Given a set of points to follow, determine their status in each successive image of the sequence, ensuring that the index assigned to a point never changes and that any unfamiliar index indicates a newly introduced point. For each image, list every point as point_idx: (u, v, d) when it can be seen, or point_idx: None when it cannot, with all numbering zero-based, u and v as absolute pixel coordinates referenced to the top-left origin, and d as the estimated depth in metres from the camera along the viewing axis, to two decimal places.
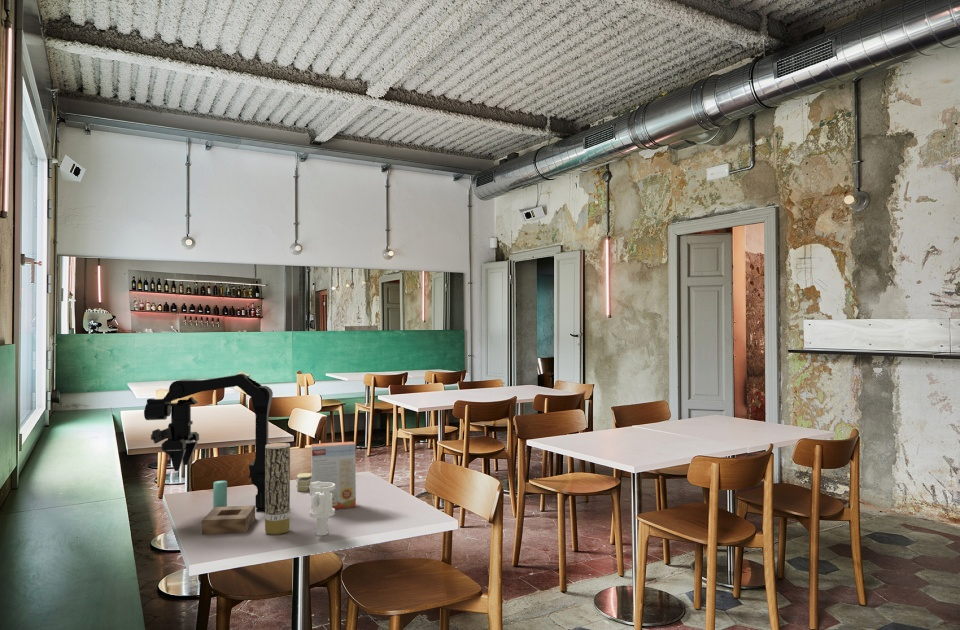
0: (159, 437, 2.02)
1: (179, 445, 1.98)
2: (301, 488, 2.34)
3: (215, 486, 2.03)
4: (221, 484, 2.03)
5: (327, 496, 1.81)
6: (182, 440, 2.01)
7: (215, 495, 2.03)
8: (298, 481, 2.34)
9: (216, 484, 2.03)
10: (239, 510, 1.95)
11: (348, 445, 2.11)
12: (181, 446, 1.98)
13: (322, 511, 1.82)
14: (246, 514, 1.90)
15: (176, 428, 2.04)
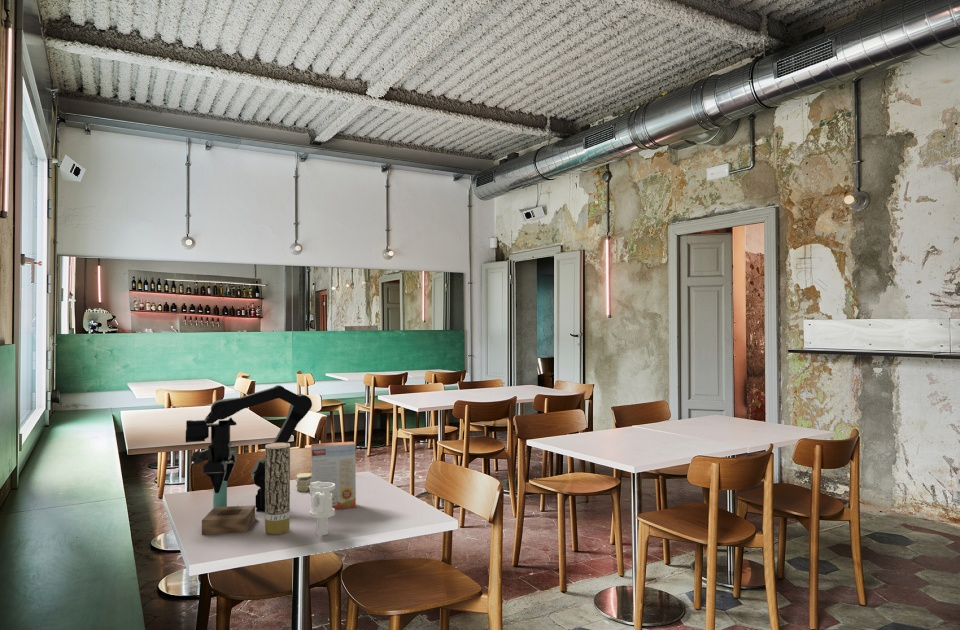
0: (199, 459, 2.00)
1: (220, 467, 1.96)
2: (301, 488, 2.34)
3: None
4: None
5: (327, 496, 1.81)
6: (223, 462, 1.99)
7: (215, 495, 2.03)
8: (298, 481, 2.34)
9: None
10: (239, 510, 1.95)
11: (348, 445, 2.11)
12: (222, 468, 1.97)
13: (322, 511, 1.82)
14: (246, 514, 1.90)
15: (216, 449, 2.02)
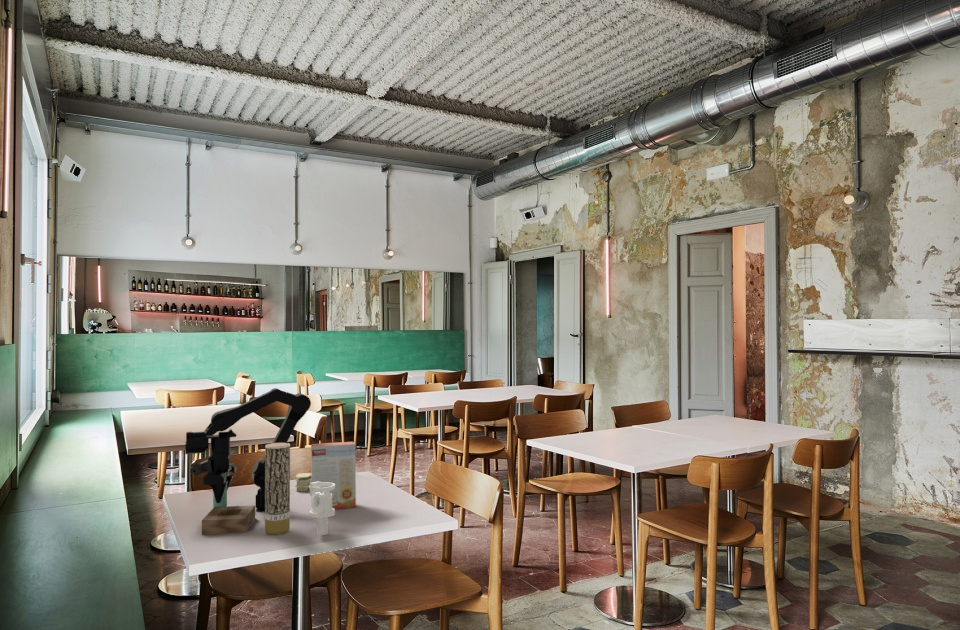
0: (199, 470, 2.00)
1: (220, 480, 1.96)
2: (300, 488, 2.34)
3: None
4: None
5: (327, 496, 1.81)
6: (223, 474, 1.99)
7: None
8: (297, 481, 2.34)
9: None
10: (239, 510, 1.95)
11: (348, 445, 2.11)
12: (222, 480, 1.96)
13: (322, 511, 1.82)
14: (246, 514, 1.90)
15: (216, 461, 2.02)
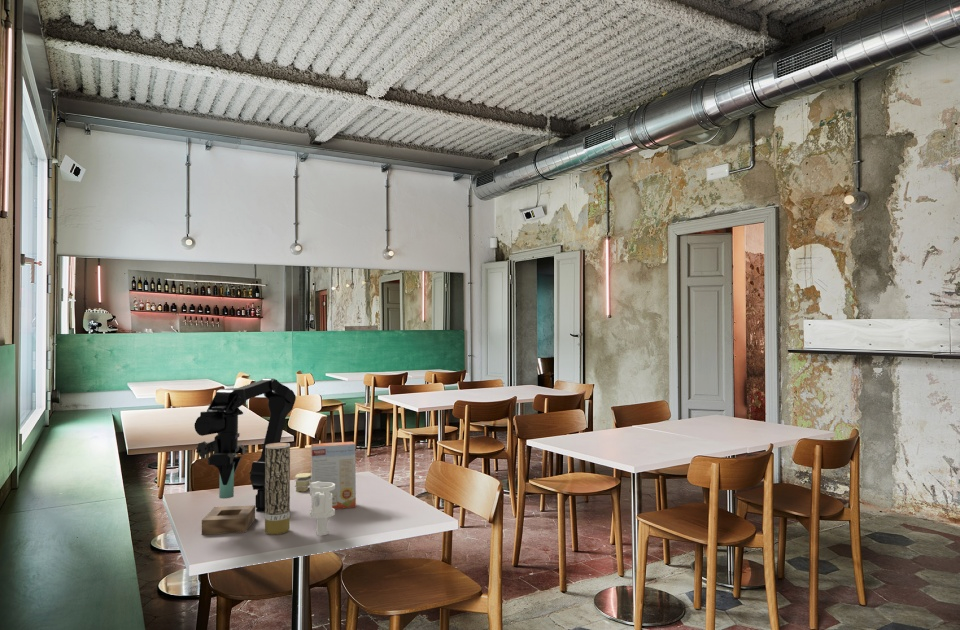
0: (205, 450, 1.89)
1: (226, 460, 1.85)
2: (300, 488, 2.34)
3: None
4: None
5: (327, 496, 1.81)
6: (229, 454, 1.88)
7: None
8: (296, 481, 2.34)
9: None
10: (239, 510, 1.95)
11: (348, 445, 2.11)
12: (228, 461, 1.85)
13: (322, 511, 1.82)
14: (246, 514, 1.90)
15: (223, 440, 1.91)
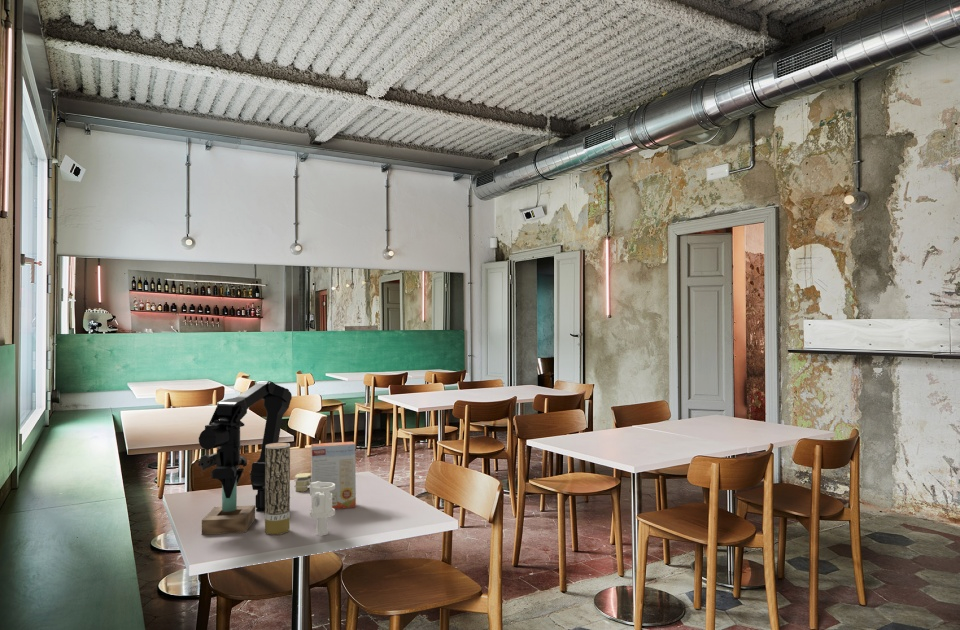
0: (207, 463, 1.87)
1: (230, 473, 1.83)
2: (299, 488, 2.34)
3: None
4: None
5: (327, 496, 1.81)
6: (233, 467, 1.86)
7: None
8: (296, 481, 2.34)
9: None
10: (239, 510, 1.95)
11: (348, 445, 2.11)
12: (232, 474, 1.84)
13: (322, 511, 1.82)
14: (246, 514, 1.90)
15: (225, 453, 1.89)
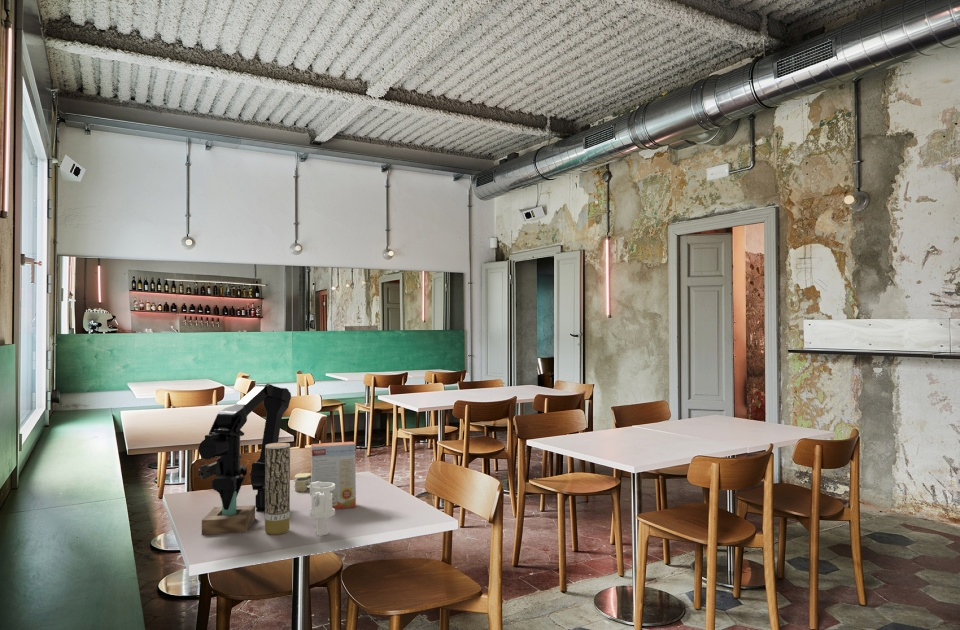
0: (207, 473, 1.87)
1: (230, 483, 1.83)
2: (299, 488, 2.33)
3: None
4: None
5: (327, 496, 1.81)
6: (233, 477, 1.86)
7: None
8: (296, 481, 2.33)
9: None
10: (239, 510, 1.95)
11: (348, 445, 2.11)
12: (232, 484, 1.84)
13: (322, 511, 1.82)
14: (246, 514, 1.90)
15: (225, 463, 1.89)
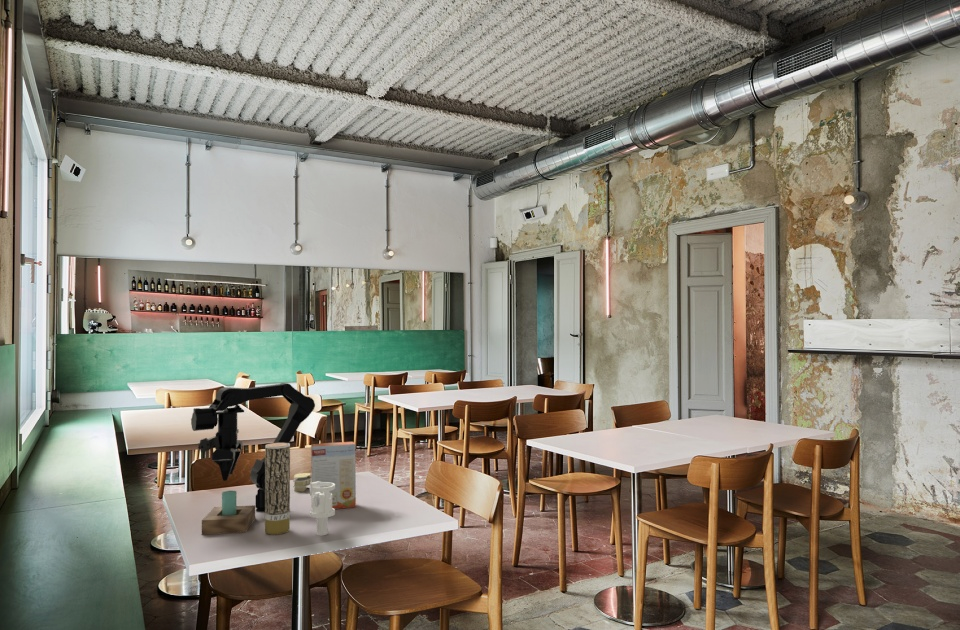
0: (207, 446, 1.98)
1: (229, 455, 1.95)
2: (298, 488, 2.33)
3: (224, 496, 1.90)
4: (230, 494, 1.90)
5: (327, 496, 1.81)
6: (232, 449, 1.97)
7: (224, 506, 1.90)
8: (295, 481, 2.33)
9: (225, 494, 1.90)
10: (239, 510, 1.95)
11: (348, 445, 2.11)
12: (232, 455, 1.95)
13: (322, 511, 1.82)
14: (246, 514, 1.90)
15: (224, 437, 2.01)
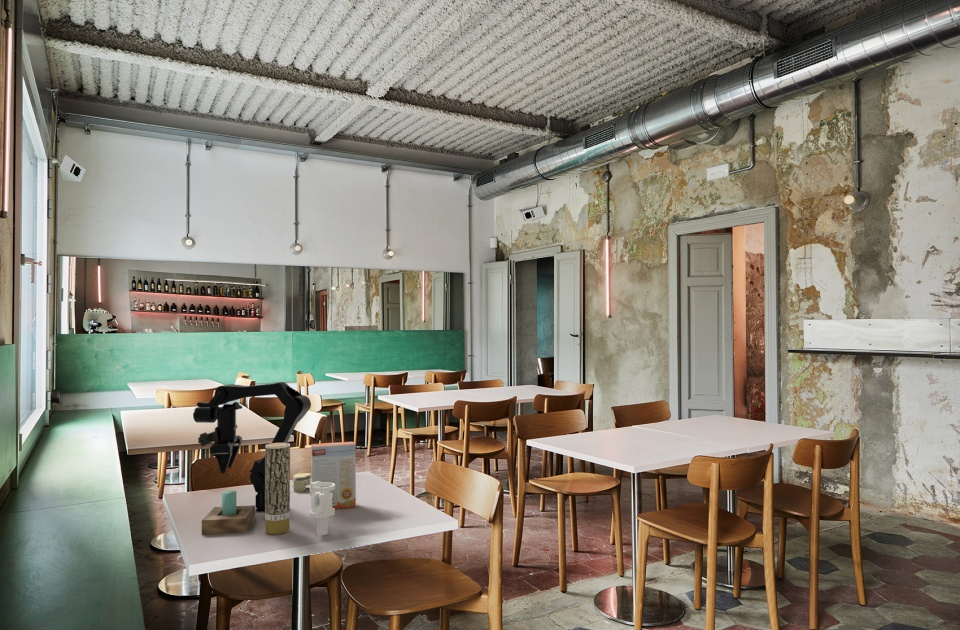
0: (206, 440, 2.08)
1: (226, 448, 2.04)
2: (297, 488, 2.33)
3: (224, 496, 1.90)
4: (230, 494, 1.90)
5: (327, 496, 1.81)
6: (229, 443, 2.07)
7: (224, 506, 1.90)
8: (294, 481, 2.33)
9: (225, 494, 1.90)
10: (239, 510, 1.95)
11: (348, 445, 2.11)
12: (228, 449, 2.05)
13: (322, 511, 1.82)
14: (246, 514, 1.90)
15: (222, 431, 2.10)
